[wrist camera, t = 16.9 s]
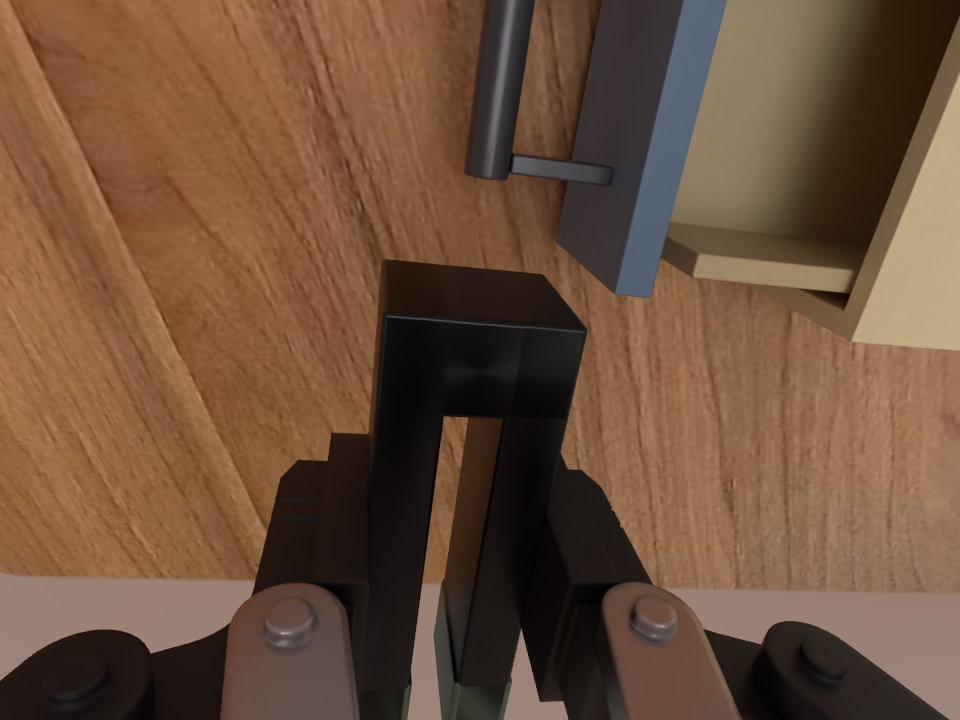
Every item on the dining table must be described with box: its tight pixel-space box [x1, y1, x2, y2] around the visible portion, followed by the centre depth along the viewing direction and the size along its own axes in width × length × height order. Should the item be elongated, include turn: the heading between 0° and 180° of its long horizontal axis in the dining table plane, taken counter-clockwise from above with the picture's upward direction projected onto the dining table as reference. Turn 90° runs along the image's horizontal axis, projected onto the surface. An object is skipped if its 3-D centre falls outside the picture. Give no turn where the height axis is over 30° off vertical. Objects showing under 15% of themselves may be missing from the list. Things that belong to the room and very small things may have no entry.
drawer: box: [464, 0, 960, 298], centre depth 21 cm, size 20×12×7 cm, turn 82°
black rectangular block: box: [359, 259, 587, 720], centre depth 10 cm, size 8×3×2 cm, turn 172°
